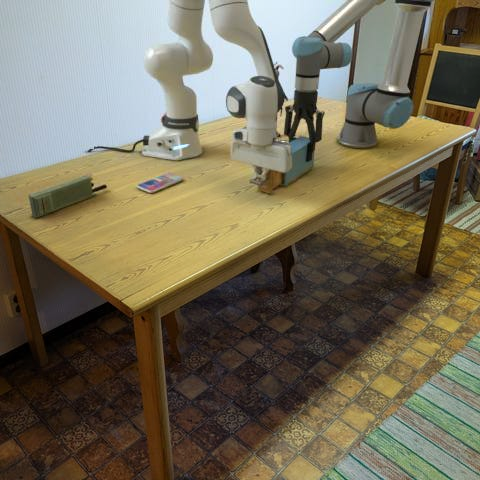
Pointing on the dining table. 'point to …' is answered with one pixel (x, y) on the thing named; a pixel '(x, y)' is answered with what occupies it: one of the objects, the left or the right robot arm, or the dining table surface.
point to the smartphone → (159, 182)
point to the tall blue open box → (298, 160)
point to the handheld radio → (62, 195)
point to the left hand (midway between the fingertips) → (260, 179)
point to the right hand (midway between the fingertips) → (300, 158)
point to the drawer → (269, 180)
